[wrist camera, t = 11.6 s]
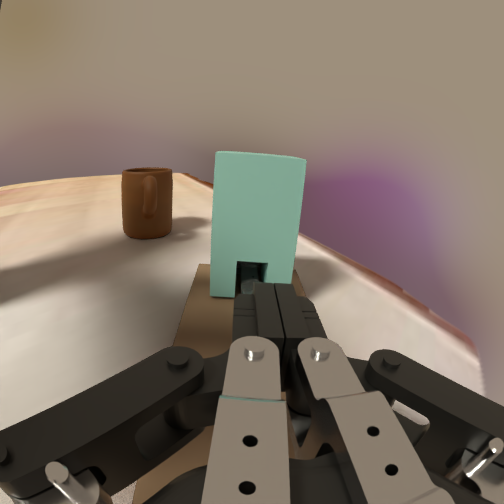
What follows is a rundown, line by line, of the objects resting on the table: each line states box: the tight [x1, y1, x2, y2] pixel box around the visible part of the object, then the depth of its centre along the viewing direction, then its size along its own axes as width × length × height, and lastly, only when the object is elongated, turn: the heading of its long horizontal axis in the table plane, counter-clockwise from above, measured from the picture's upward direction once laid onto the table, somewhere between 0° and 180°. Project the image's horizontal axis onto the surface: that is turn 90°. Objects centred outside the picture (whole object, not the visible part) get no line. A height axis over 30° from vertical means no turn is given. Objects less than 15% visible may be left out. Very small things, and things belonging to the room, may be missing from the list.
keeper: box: [210, 151, 307, 297], centre depth 24 cm, size 5×6×11 cm
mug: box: [122, 168, 173, 239], centre depth 39 cm, size 12×8×9 cm, turn 24°
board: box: [132, 264, 306, 504], centre depth 18 cm, size 26×10×1 cm, turn 2°
